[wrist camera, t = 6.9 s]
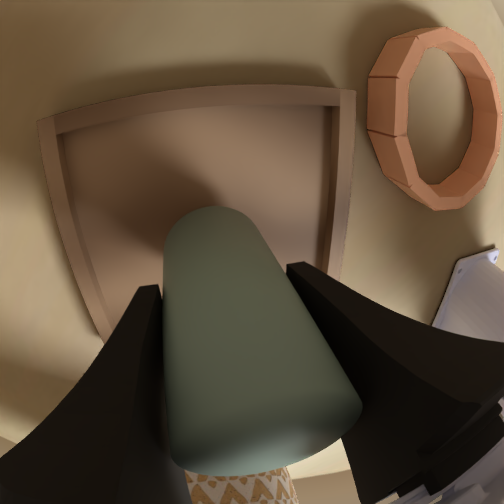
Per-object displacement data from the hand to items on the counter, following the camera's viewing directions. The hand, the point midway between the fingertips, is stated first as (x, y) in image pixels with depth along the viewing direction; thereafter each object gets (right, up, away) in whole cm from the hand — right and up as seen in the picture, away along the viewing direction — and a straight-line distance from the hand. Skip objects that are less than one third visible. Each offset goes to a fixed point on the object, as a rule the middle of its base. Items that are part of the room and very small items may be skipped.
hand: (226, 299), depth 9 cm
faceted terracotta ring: (+12, +10, +4) cm, 16 cm away
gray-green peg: (-1, +1, +2) cm, 3 cm away
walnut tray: (-1, +3, +4) cm, 5 cm away
